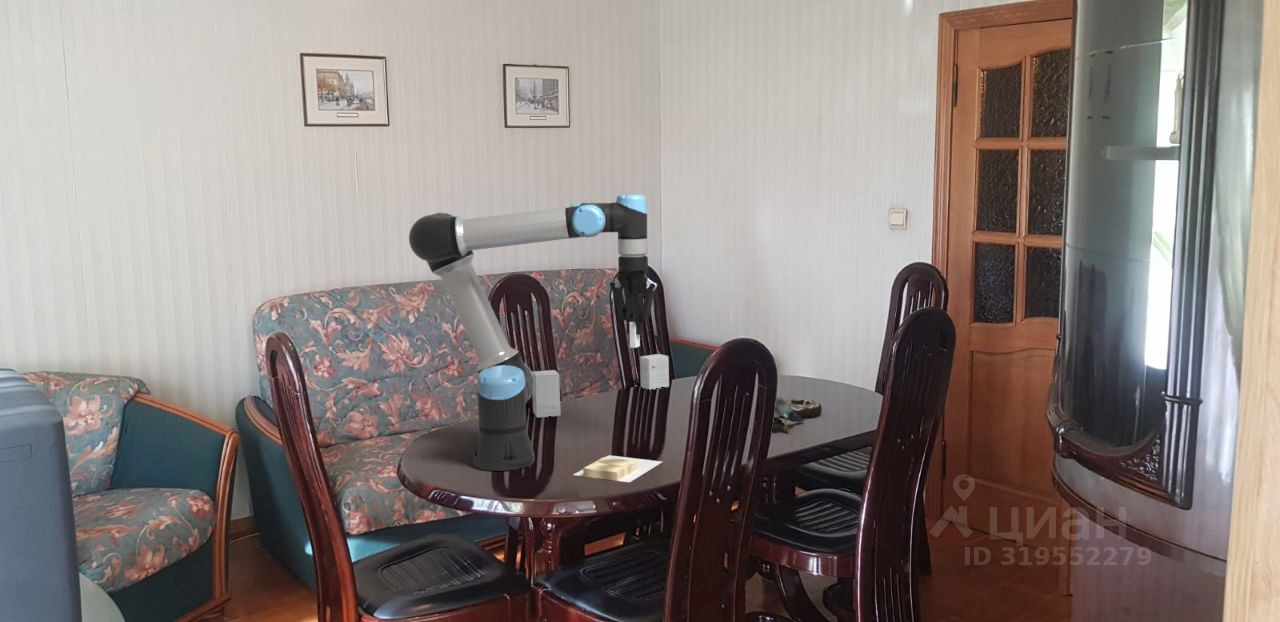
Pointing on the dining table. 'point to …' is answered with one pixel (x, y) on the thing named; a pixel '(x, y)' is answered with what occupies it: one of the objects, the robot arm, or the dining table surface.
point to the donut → (805, 407)
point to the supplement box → (546, 393)
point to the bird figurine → (785, 415)
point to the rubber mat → (641, 469)
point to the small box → (654, 371)
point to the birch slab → (610, 469)
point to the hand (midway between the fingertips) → (634, 346)
